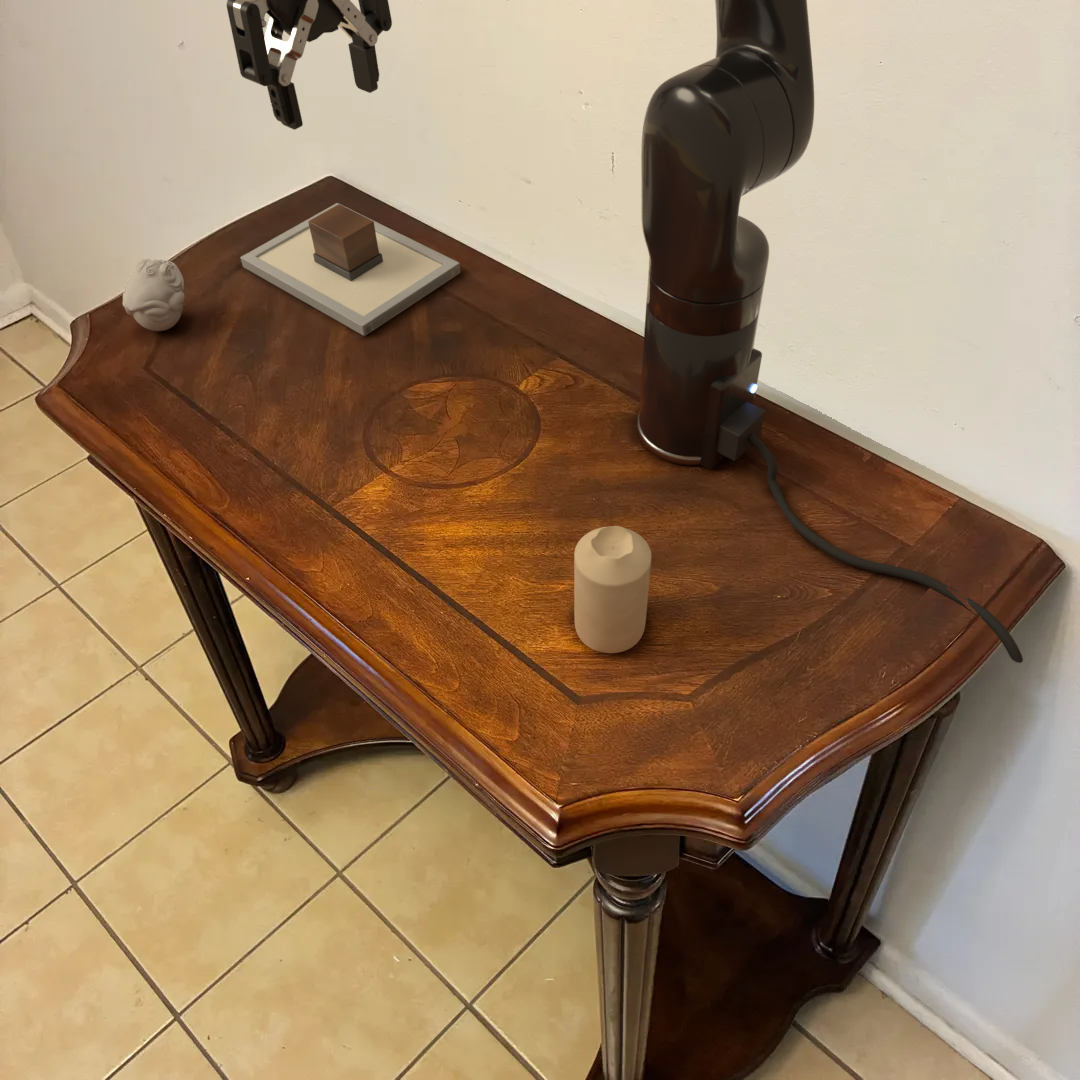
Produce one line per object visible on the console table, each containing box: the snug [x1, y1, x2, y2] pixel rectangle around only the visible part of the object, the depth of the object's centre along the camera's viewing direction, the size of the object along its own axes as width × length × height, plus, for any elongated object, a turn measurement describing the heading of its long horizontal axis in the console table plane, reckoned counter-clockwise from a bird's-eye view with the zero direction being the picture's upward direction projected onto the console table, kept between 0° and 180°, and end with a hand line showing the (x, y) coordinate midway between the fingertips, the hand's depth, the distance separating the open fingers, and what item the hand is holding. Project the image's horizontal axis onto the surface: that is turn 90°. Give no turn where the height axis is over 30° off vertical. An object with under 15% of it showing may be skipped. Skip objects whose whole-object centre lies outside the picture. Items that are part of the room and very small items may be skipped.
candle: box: [573, 525, 652, 654], centre depth 73 cm, size 6×6×10 cm
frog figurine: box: [122, 258, 186, 332], centre depth 102 cm, size 6×7×7 cm
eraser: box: [308, 203, 383, 281], centre depth 107 cm, size 6×5×5 cm
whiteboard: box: [240, 202, 461, 337], centre depth 109 cm, size 20×14×1 cm
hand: (330, 107), depth 85 cm, fingers open, 8 cm apart
